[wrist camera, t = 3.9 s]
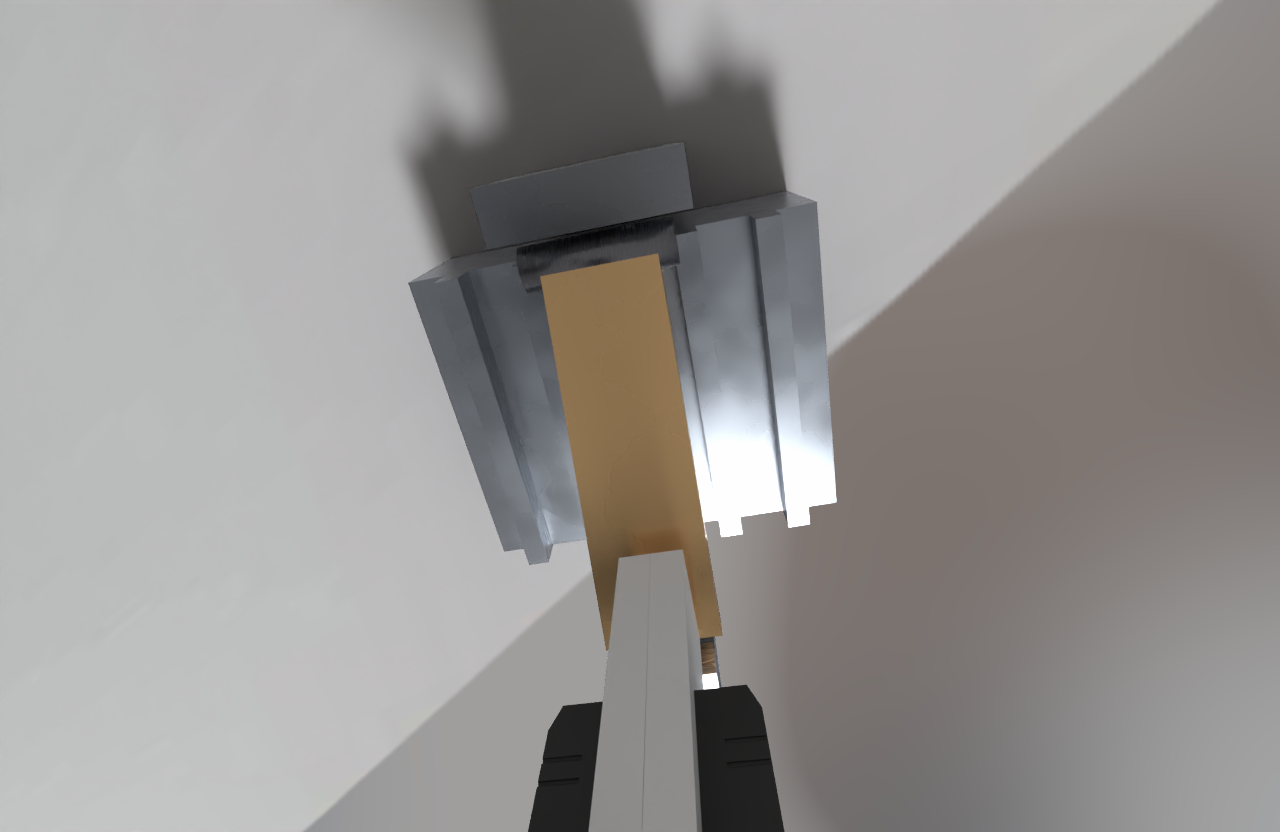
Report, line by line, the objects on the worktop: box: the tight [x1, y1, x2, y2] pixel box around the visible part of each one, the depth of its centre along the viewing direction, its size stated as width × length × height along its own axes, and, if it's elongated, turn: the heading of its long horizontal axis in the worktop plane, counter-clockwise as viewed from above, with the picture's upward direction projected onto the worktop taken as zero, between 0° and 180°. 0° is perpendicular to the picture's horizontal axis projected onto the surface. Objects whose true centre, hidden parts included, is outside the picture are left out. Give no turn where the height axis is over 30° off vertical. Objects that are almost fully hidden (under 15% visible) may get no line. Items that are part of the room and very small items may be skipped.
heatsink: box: [408, 142, 836, 689], centre depth 18 cm, size 12×14×11 cm
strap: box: [516, 216, 722, 650], centre depth 15 cm, size 4×11×1 cm, turn 11°
